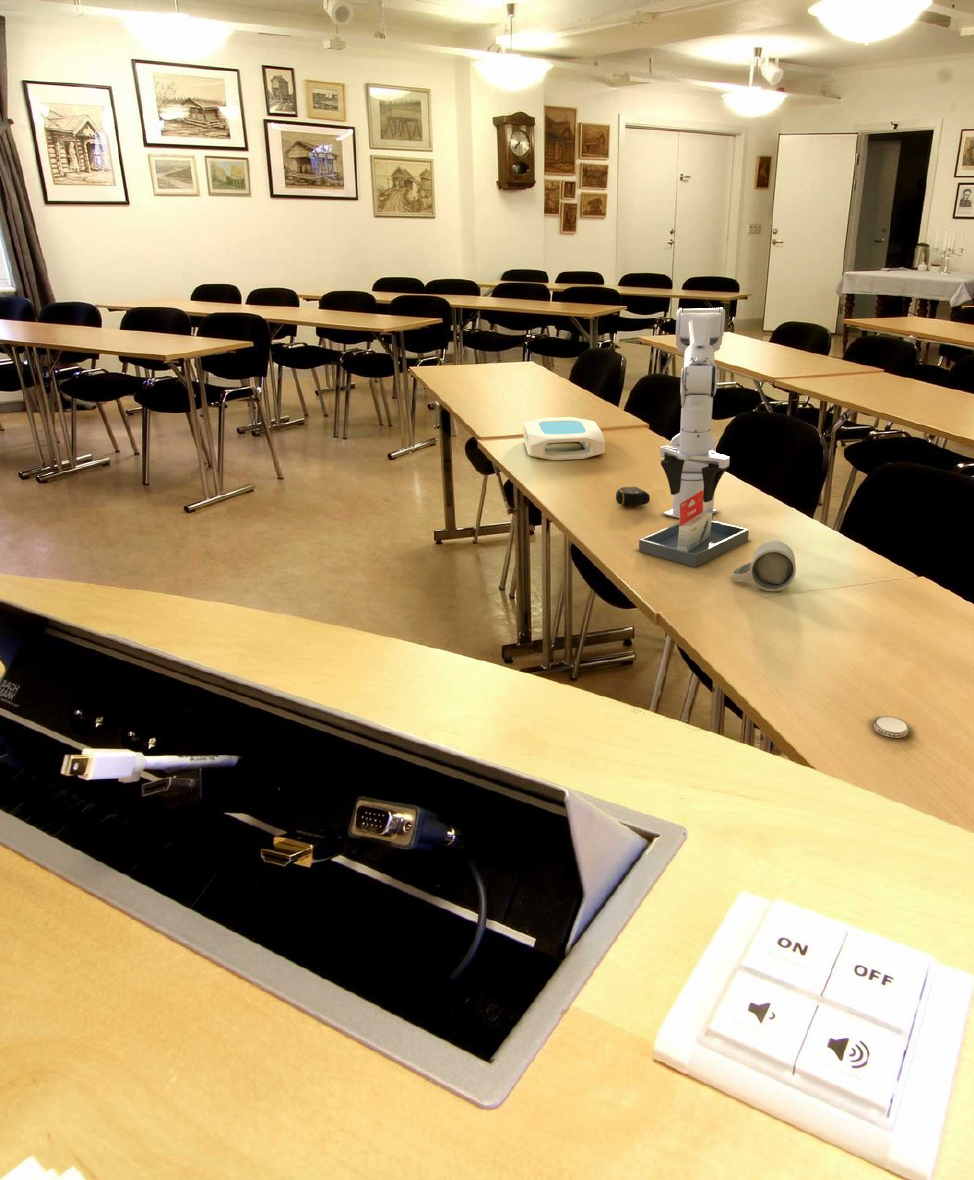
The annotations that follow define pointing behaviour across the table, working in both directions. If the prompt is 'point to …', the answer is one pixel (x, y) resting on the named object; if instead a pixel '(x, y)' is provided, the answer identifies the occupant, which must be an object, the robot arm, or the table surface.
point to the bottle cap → (891, 727)
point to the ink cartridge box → (693, 523)
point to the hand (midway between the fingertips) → (691, 497)
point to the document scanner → (563, 437)
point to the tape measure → (632, 497)
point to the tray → (716, 544)
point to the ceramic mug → (769, 567)
